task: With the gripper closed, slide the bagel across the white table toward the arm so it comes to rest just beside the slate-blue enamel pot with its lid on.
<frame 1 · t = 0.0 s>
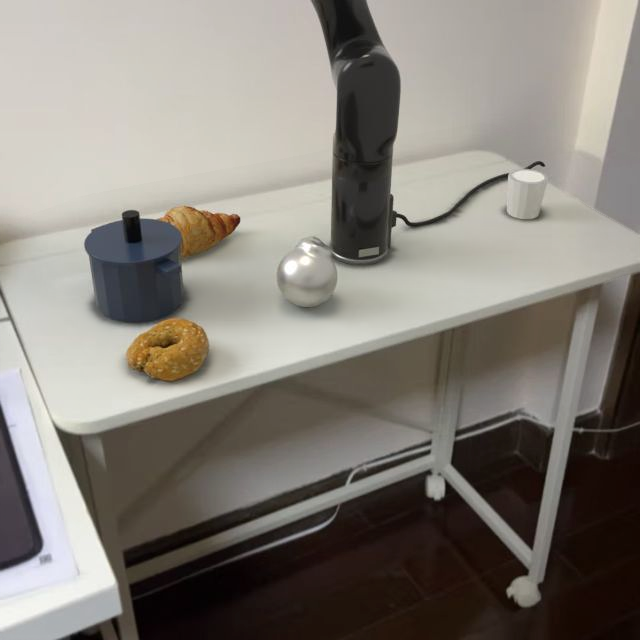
pot: (140, 299, 128), on the table
croissant: (181, 247, 143), on the table
silver round bulb: (308, 302, 128), on the table
bagel: (168, 363, 115), on the table
pot lid: (133, 242, 123), point 9 cm above the table, touching pot
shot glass: (522, 213, 155), on the table
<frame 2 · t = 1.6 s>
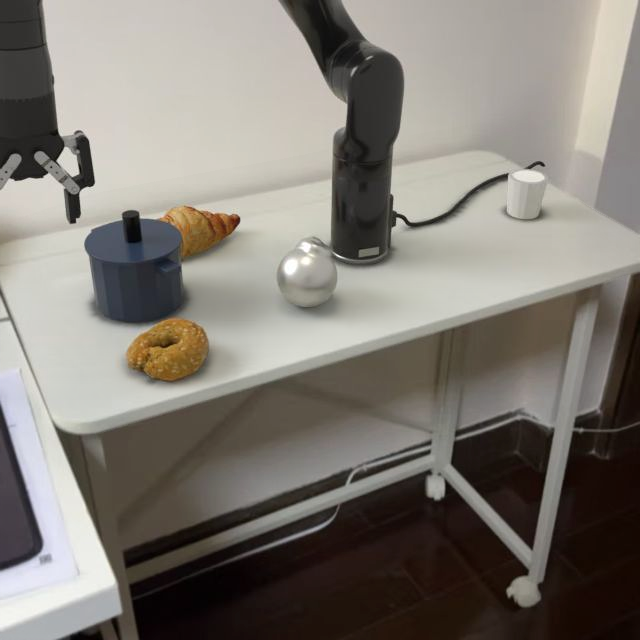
hand: (33, 226, 100), 22 cm above the table, tool pointing down, fingers open, 8 cm apart
nothing on the table moved.
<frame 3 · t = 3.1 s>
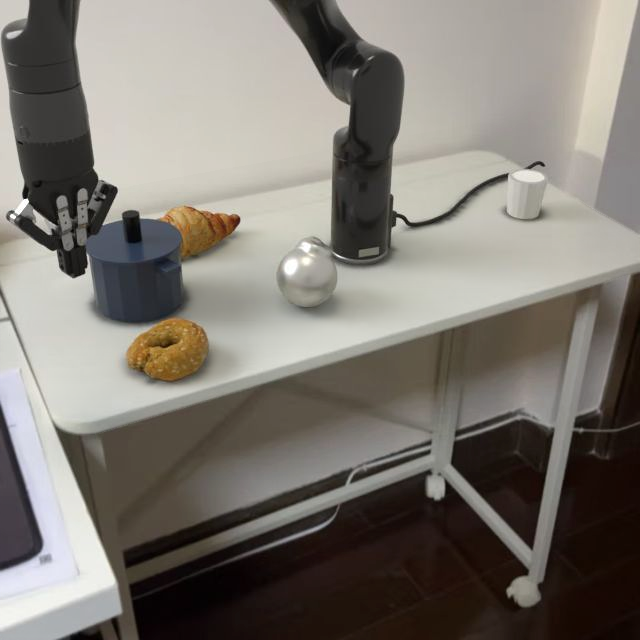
hand: (74, 274, 98), 18 cm above the table, tool pointing down, fingers closed
nothing on the table moved.
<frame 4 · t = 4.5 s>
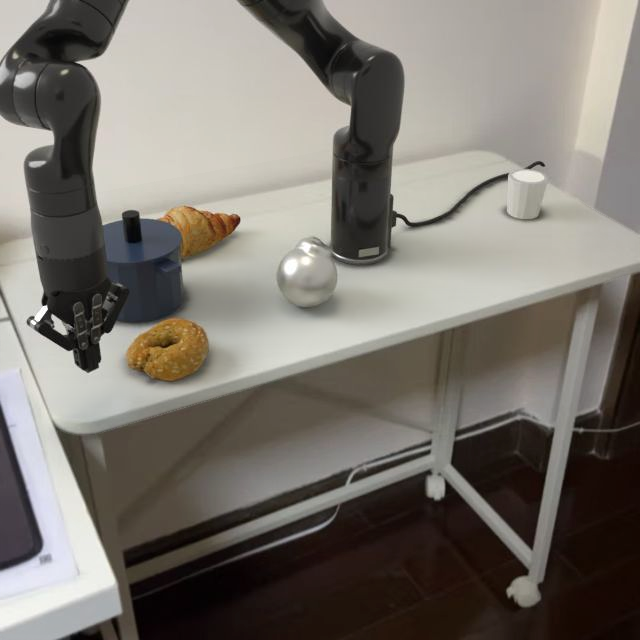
hand: (89, 368, 105), 5 cm above the table, tool pointing down, fingers closed
nothing on the table moved.
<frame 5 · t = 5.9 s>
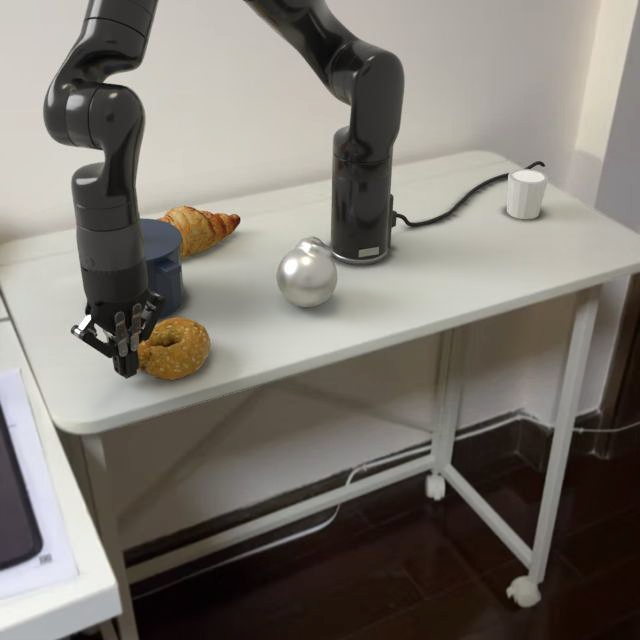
hand: (127, 374, 110), 1 cm above the table, tool pointing down, fingers closed
bagel: (170, 362, 115), on the table, touching gripper
everything else where it was.
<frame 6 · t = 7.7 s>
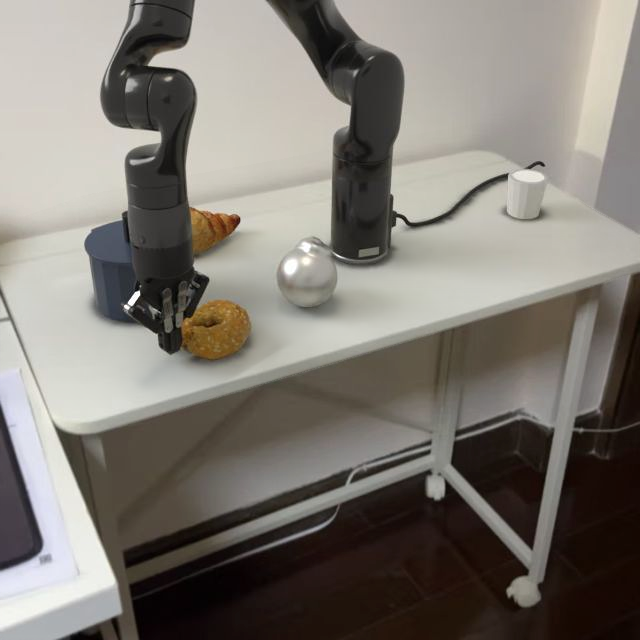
hand: (171, 350, 114), 2 cm above the table, tool pointing down, fingers closed
bagel: (211, 342, 119), on the table, touching gripper
everything else where it was.
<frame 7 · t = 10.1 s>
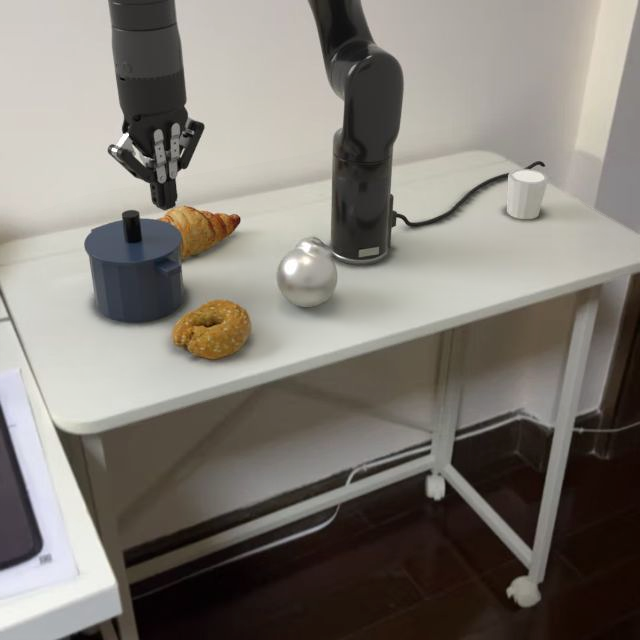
hand: (165, 207, 105), 21 cm above the table, tool pointing down, fingers closed
bagel: (212, 342, 119), on the table
everything else where it was.
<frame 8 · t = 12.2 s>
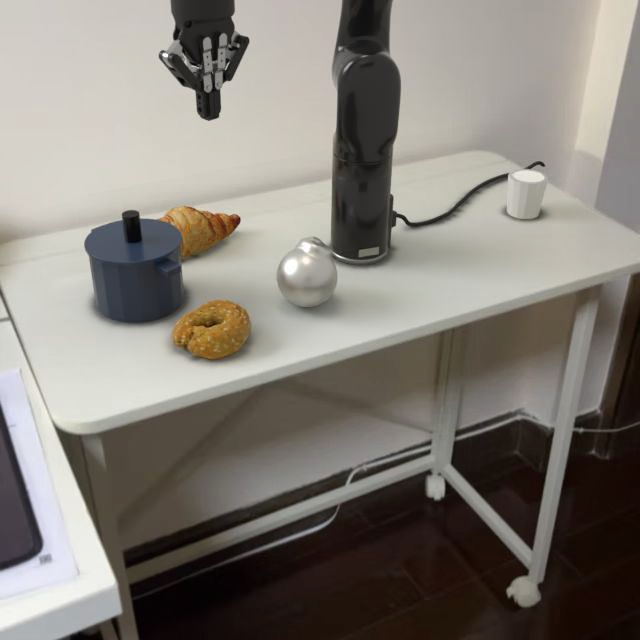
hand: (209, 118, 110), 29 cm above the table, tool pointing down, fingers closed
nothing on the table moved.
at the end: bagel inside the target area on the table beside the pot (1.4 cm from its centre), on the table; pot lid 0.0 cm off-centre on the pot, point 9.5 cm above the pot's base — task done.
